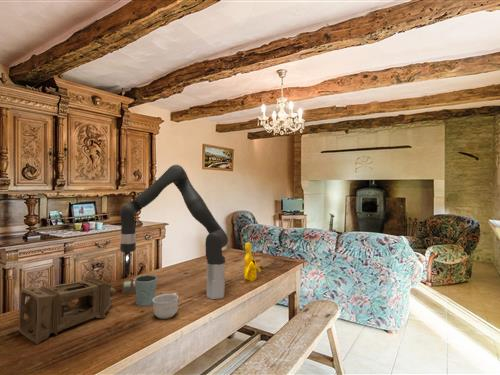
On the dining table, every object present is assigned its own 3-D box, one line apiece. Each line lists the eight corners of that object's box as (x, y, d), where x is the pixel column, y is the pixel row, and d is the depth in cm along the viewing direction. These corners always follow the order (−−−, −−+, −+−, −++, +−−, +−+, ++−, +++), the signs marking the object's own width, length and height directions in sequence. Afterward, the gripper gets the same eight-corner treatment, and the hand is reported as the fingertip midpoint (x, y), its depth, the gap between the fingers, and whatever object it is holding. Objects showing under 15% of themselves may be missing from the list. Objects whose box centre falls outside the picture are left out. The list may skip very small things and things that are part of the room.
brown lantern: (106, 308, 143) (104, 269, 145) (128, 313, 133) (126, 271, 135) (18, 337, 114) (17, 287, 116) (38, 345, 104) (37, 291, 106)
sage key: (130, 288, 157) (130, 283, 157) (123, 288, 156) (123, 284, 156) (130, 285, 161) (130, 281, 161) (124, 286, 160) (124, 281, 160)
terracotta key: (139, 287, 159) (139, 283, 159) (133, 288, 157) (133, 283, 157) (139, 284, 163) (139, 280, 163) (133, 285, 162) (133, 280, 162)
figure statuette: (247, 284, 173) (248, 246, 172) (236, 281, 177) (237, 244, 177) (263, 276, 188) (264, 241, 187) (252, 274, 192) (253, 240, 192)
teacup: (164, 323, 123) (164, 304, 123) (146, 317, 129) (147, 298, 129) (188, 311, 135) (188, 294, 135) (171, 306, 141) (171, 289, 141)
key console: (150, 290, 160) (150, 282, 160) (121, 293, 155) (122, 285, 155) (149, 283, 171) (149, 275, 171) (123, 285, 166) (123, 278, 166)
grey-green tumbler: (150, 297, 151) (151, 273, 151) (160, 303, 144) (161, 278, 144) (130, 302, 144) (131, 277, 144) (140, 309, 137) (140, 283, 137)
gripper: (135, 244, 153) (134, 277, 154) (135, 239, 166) (135, 270, 166) (119, 244, 151) (118, 278, 151) (121, 239, 163) (120, 271, 164)
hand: (127, 274), depth 159 cm, fingers closed
